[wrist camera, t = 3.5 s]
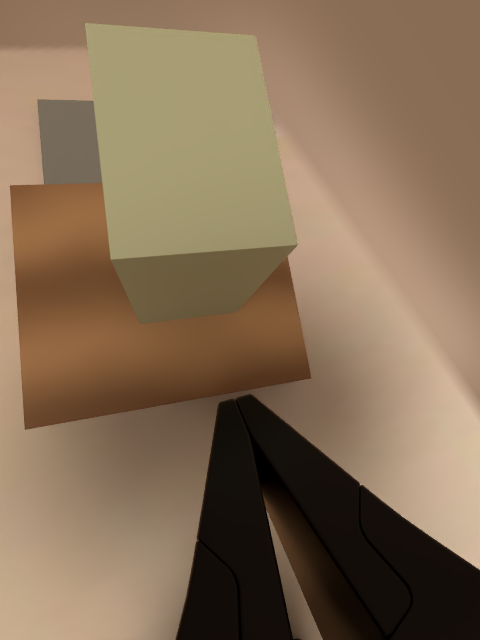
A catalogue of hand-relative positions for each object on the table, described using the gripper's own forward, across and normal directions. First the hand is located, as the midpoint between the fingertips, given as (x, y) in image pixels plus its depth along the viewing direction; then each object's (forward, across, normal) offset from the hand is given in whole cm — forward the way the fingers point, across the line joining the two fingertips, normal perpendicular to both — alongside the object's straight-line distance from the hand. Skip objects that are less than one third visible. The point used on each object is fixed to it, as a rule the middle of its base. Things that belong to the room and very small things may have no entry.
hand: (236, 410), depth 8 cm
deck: (+12, +1, +3) cm, 13 cm away
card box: (+12, 0, 0) cm, 12 cm away
